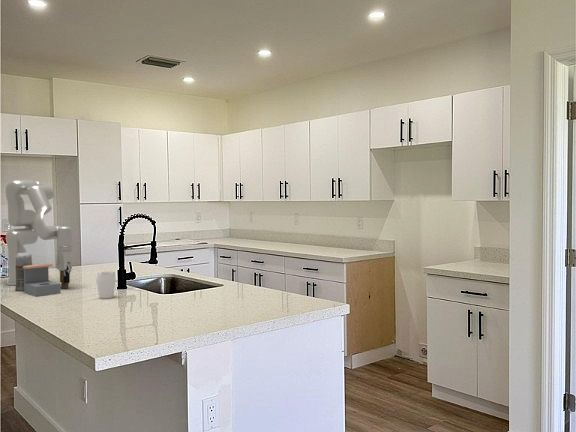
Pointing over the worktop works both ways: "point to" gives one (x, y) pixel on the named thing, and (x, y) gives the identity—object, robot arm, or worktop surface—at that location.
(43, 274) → the socket block
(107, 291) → the cup
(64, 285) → the peg
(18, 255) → the spray can
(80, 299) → the worktop surface
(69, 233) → the robot arm
